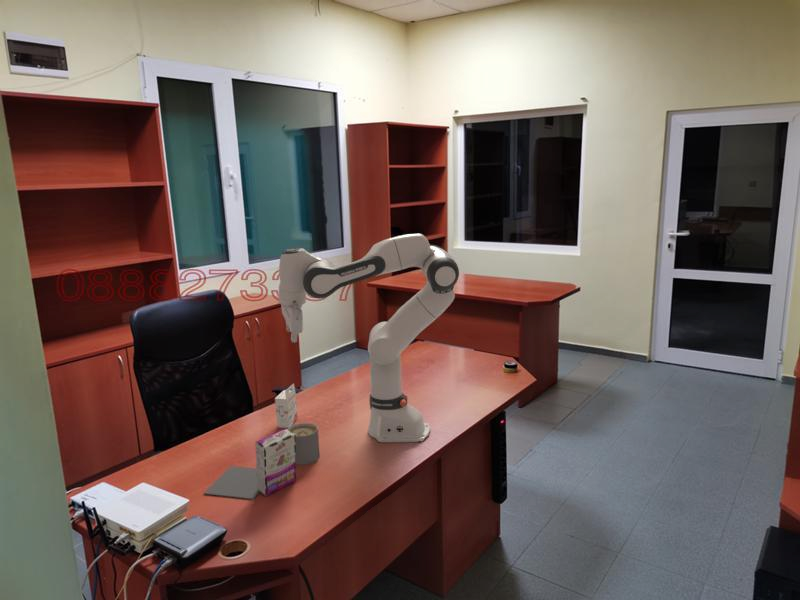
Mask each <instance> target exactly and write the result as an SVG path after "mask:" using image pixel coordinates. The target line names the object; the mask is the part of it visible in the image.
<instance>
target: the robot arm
mask: <svg viewBox="0 0 800 600" xmlns="http://www.w3.org/2000/svg"><path fill="white" fill-rule="evenodd" d="M408 268H419V269H421V272H422V274H423V276H424V277H425V278H426V283H425V285H424V286H423V288H422V289H420V290H419V291H418V292H417V293H416V294H414V295H413V296H412V297H411V298H410V299H408V300H407V301H406V302H405V303H404V304H403V305H401V306H400V307H399V308H398V309H397V311H396V312H395V313H394V314H393V315H392V316H391V317H390V318H389V319H388V320H387V321H381V322H378V323H377V324H375V325H374V326H373V327H372V328H371V330H370V332H369V336H368V344H367V351H368V353H369V382H370V383H369V385H370V394H369V398H368V399H369V407H370V408H369V409H370V419H369V423H368V424H369V425H368V429H367V434H368V435H369V436H370V437H372V438H374V439H376V441H377V442H378V443H419V442H418V441H421V442H423V441H425V440H426V439H427V438H428V437H427V436H429V435H430V433H429V432H431V426H430V424H429V423H428V422H425V421H424V417H423V415H422V413H421V411H420V410H418V409H417V408H415V406H412V405H411V404H409V402H408V396H409V395H408V393H406V394H404V392H403V391H402V390H403V389H402V362H401V361H402V360H401V359H402V358H401V355H402V354H401V353H402V352H404V351H405V350H406V348H407V347H408V346H409V345H410V344H411V343H412V342H413V341H414V340H415V338H416V337H418V335H419V334H420V333H422V331H424V330H425V329H426V328H427V327H428V326H430V325H431V324H432V323H433V322H435V320H436V319H438V318H439V317H440V316H441V315H442V314H443V313H444V312H445V311H446V310H447V309H448V307H450V306H451V304H452V303H453V302H454V300H455V298H456V293H455V290H454V287H455V285H456V283H457V282H458V280H459V276H460V269H459V266H458V263H456V260H455V259H454V258H453V255H451V254H450V253H448V251H447V250H446V249H445V248H444V247H441V246H440V245H435V244H431V243H430V242H429V240H428V239H427V237H426V236H425V235H424V234H423V233H407V234H402V235H397V236H393V237H389V238H385V239H383V240H381V241H379V242H377V243H374V244H373V245H372V247H371V248H370V249H369V251H368V252H367V253H366V254H365V255H364V256H363V257H362V258H360V259H358V260H355V261H353V262H350V263H346V264H343V265H340V266H337V267H334V265H333V263H332V262H331V261H330V260H328V259H326V258H322V257H318V256H316V255H314V254H311V252H308V251H307V250H306V249H305V248H303V247H291V248H288V249H286V250H284V251H283V252H282V254H281V255H280V258H279V266H278V277H279V286H278V303H279V304H280V306H281V307H280V308H281V315H283V318H284V320H285V326H286V328H285V329H286V331H287V333H291V334H290V341H291V343H297V342H298V336H299V334H302V333H303V330H304V329H303V327H304V326H303V325H304V323H303V322H304V321H303V309H302V308H303V305H304V304H306V302H307V294H308V295H309V296H310V297H312V298H314V299H319V300H321V299H326V298H328V297H330V296H331V295H333V294H334V293H335V292H336V291H338V290H339V289H341V288H343V287H346V286H350V285H352V284H356V283H358V282H361V281H364V280H368V279H370V278H373V277H376V276H377V277H378V276H381V275H385V274H390V273H394V272H397V271H402V270H405V269H408ZM426 437H427V438H426ZM425 438H426V439H425ZM424 439H425V440H424Z"/></svg>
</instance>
